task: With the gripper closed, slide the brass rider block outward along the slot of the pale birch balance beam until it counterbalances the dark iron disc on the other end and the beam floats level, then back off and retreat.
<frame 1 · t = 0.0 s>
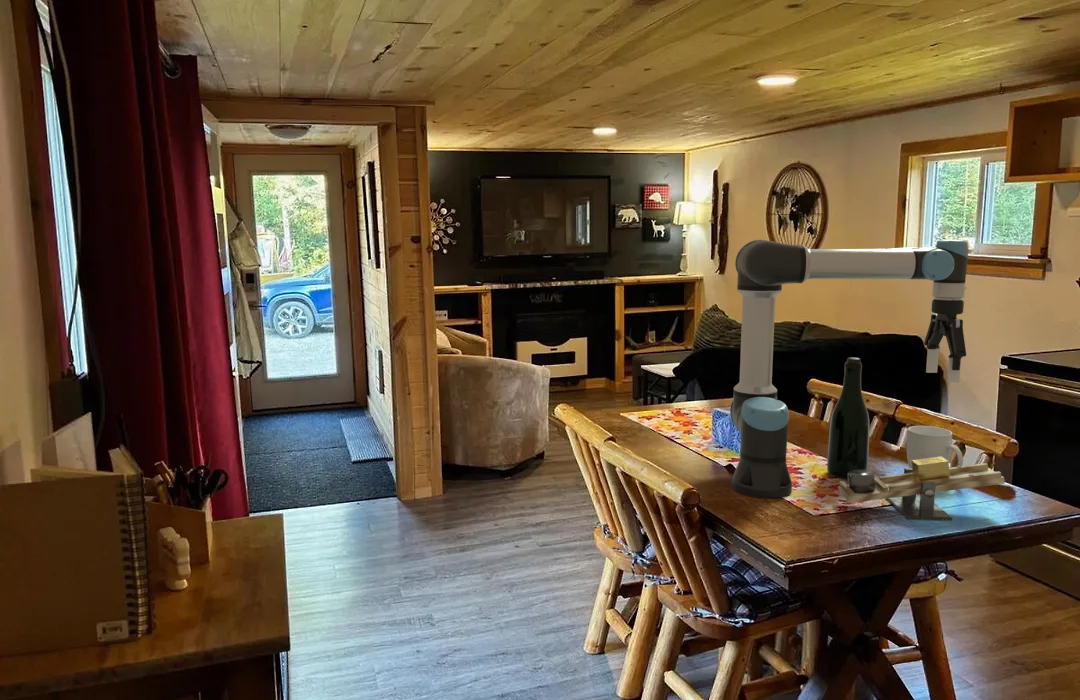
hand: (941, 377, 209), 28 cm above the table, fingers open, 13 cm apart
stand: (917, 508, 189), on the table
rider: (931, 480, 188), point 7 cm above the table, tilted 9°, touching beam
beam: (918, 482, 188), point 7 cm above the table, hinge at -9.3°, touching counterweight, rider
mug: (930, 478, 213), on the table
counterweight: (862, 489, 190), point 5 cm above the table, tilted 9°, touching beam
green wine bottle: (846, 475, 216), on the table
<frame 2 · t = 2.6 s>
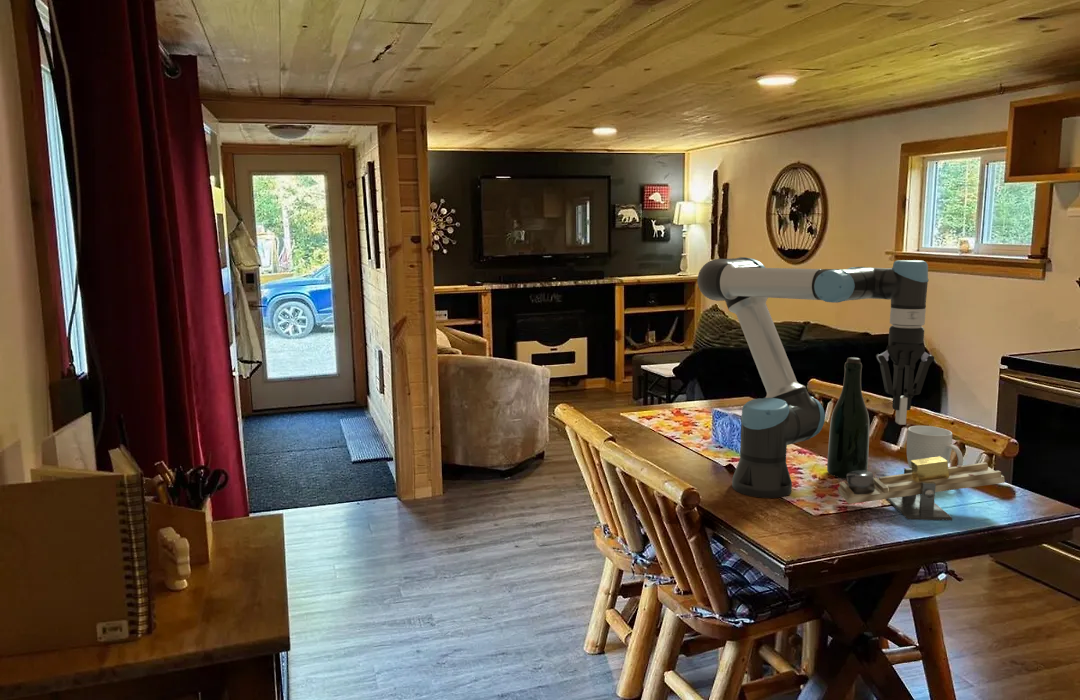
hand: (900, 423, 186), 21 cm above the table, fingers closed
beam: (918, 482, 188), point 7 cm above the table, hinge at -10.0°, touching counterweight, rider
everything else where it was.
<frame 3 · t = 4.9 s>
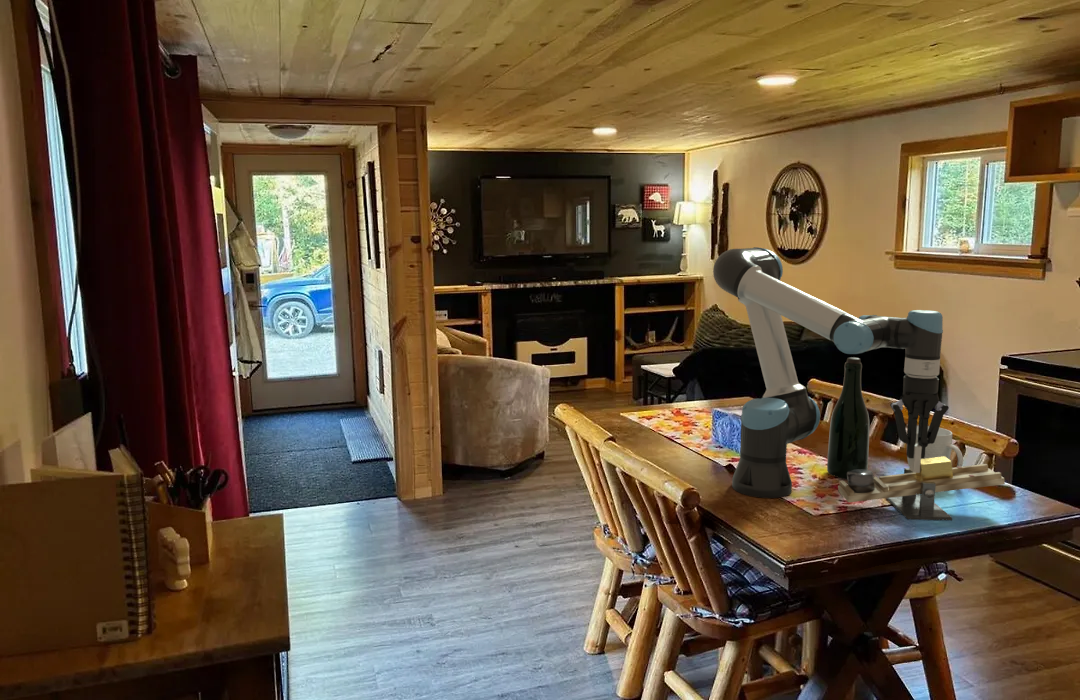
hand: (914, 470, 188), 10 cm above the table, fingers closed
rider: (934, 480, 188), point 7 cm above the table, tilted 9°, touching beam, gripper
beam: (918, 482, 188), point 7 cm above the table, hinge at -8.7°, touching counterweight, rider
everything else where it was.
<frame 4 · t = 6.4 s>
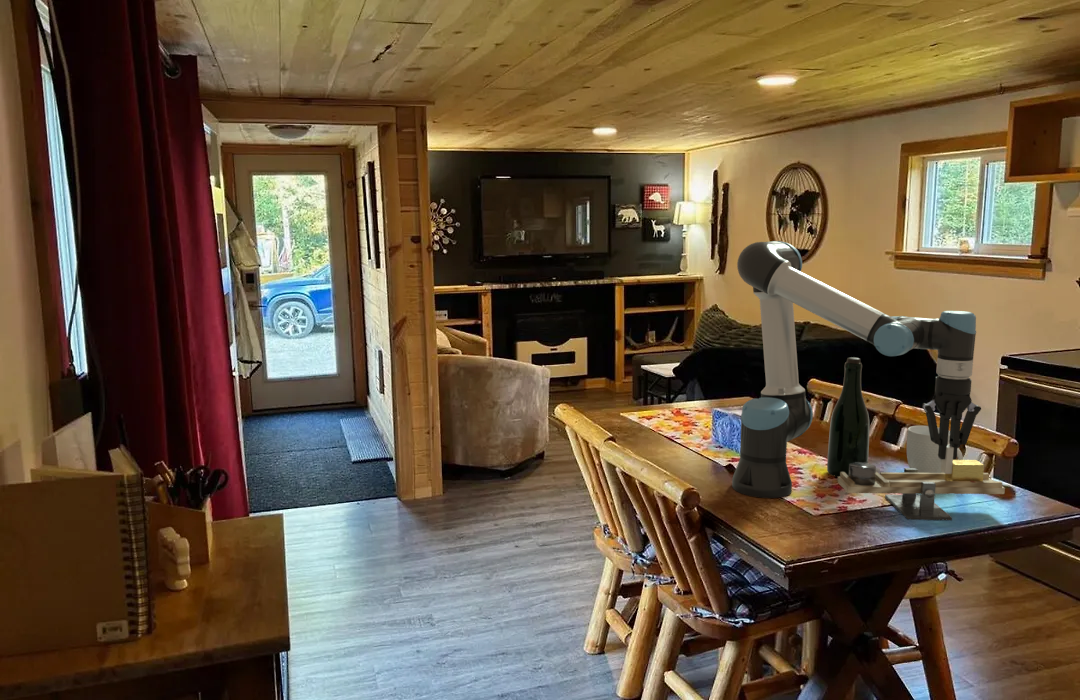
hand: (946, 471, 187), 9 cm above the table, fingers closed
rider: (963, 482, 187), point 7 cm above the table, touching beam, gripper
beam: (919, 482, 188), point 7 cm above the table, hinge at -1.0°, touching counterweight, rider
counterweight: (861, 481, 190), point 6 cm above the table, touching beam
everything else where it was.
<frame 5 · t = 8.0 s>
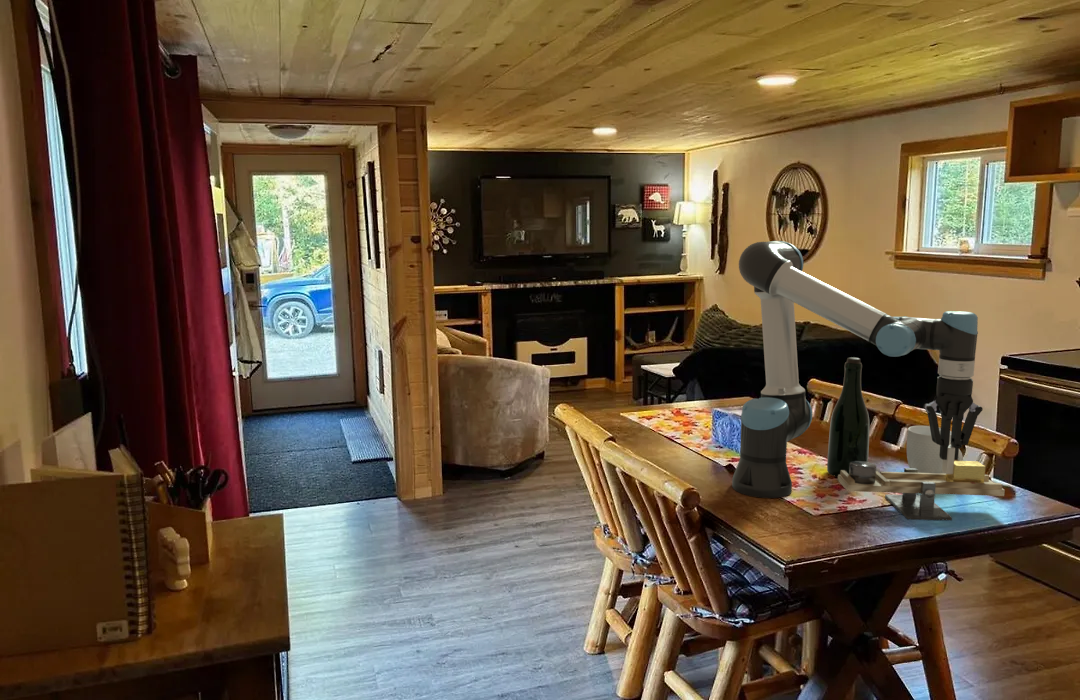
hand: (947, 472, 187), 9 cm above the table, fingers closed
beam: (919, 482, 188), point 7 cm above the table, hinge at 0.4°, touching counterweight, rider
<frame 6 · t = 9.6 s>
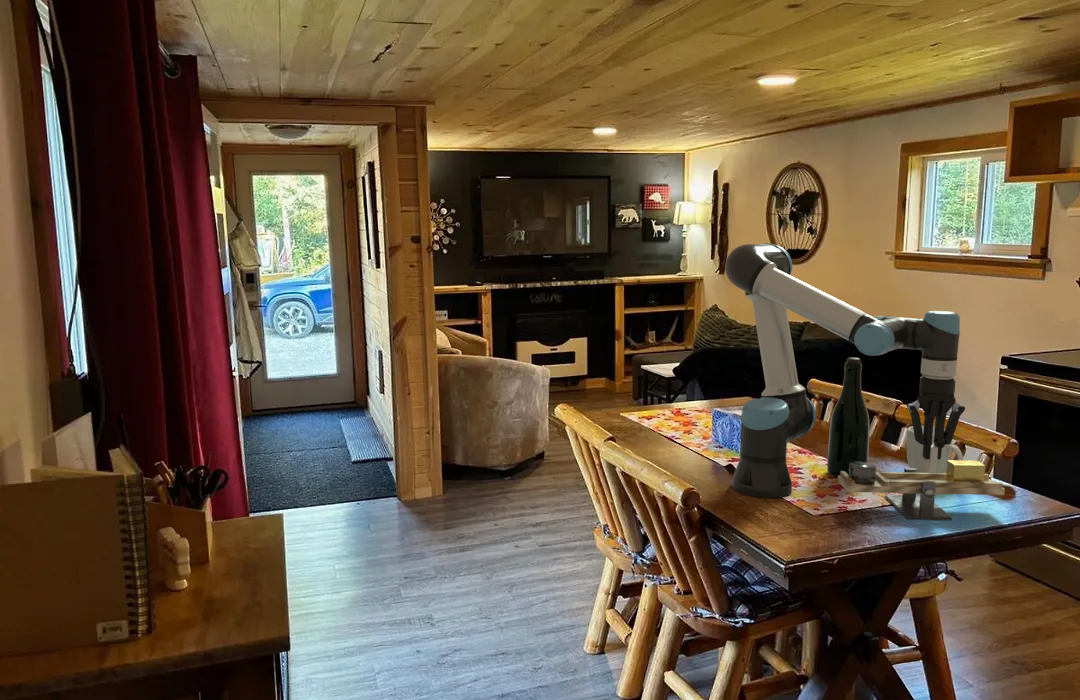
hand: (930, 471, 188), 9 cm above the table, fingers closed
rider: (964, 482, 188), point 7 cm above the table, touching beam
beam: (919, 482, 188), point 7 cm above the table, hinge at -0.3°, touching counterweight, rider
everything else where it was.
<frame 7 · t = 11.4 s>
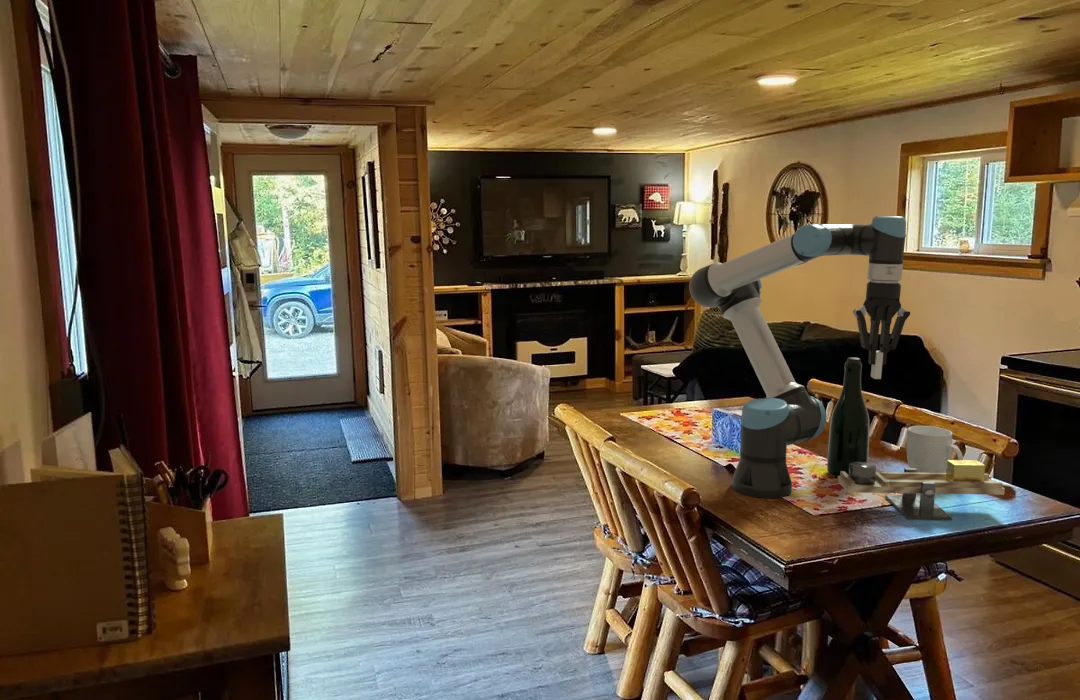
hand: (875, 377, 189), 32 cm above the table, fingers closed
nothing on the table moved.
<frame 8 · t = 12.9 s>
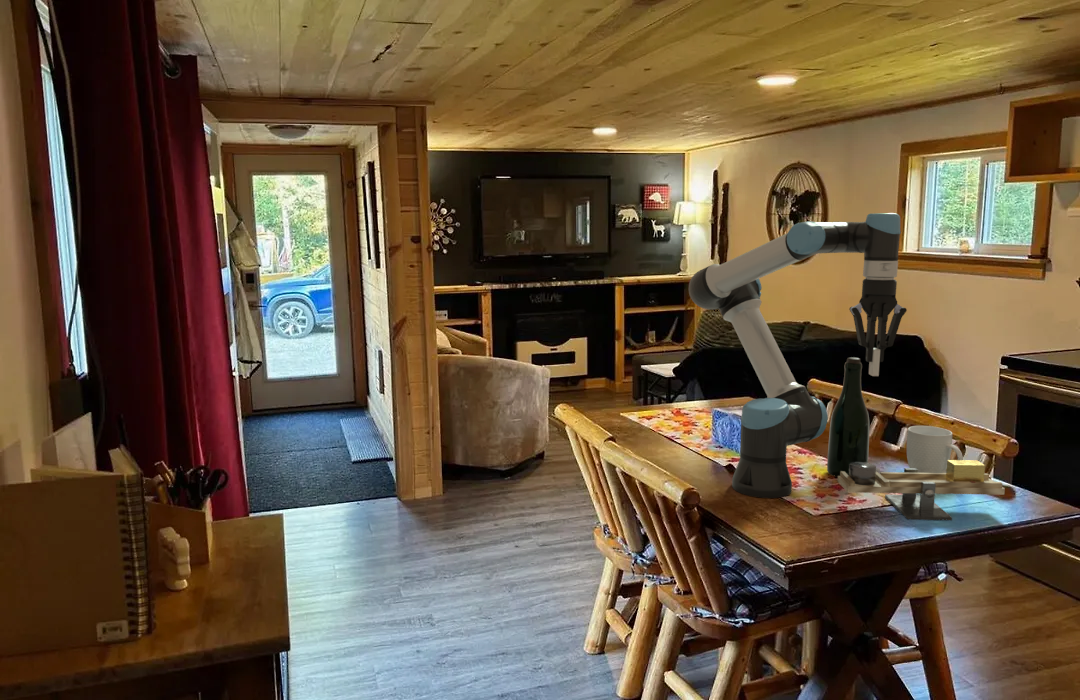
hand: (873, 374, 189), 32 cm above the table, fingers closed
nothing on the table moved.
at the end: beam at -1° (first picture: -9°); rider 0.4 cm from the target spot on the beam, point 0.9 cm above the beam's base; counterweight inside the target area on the beam (0.5 cm from its centre), point 0.6 cm above the beam's base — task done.
